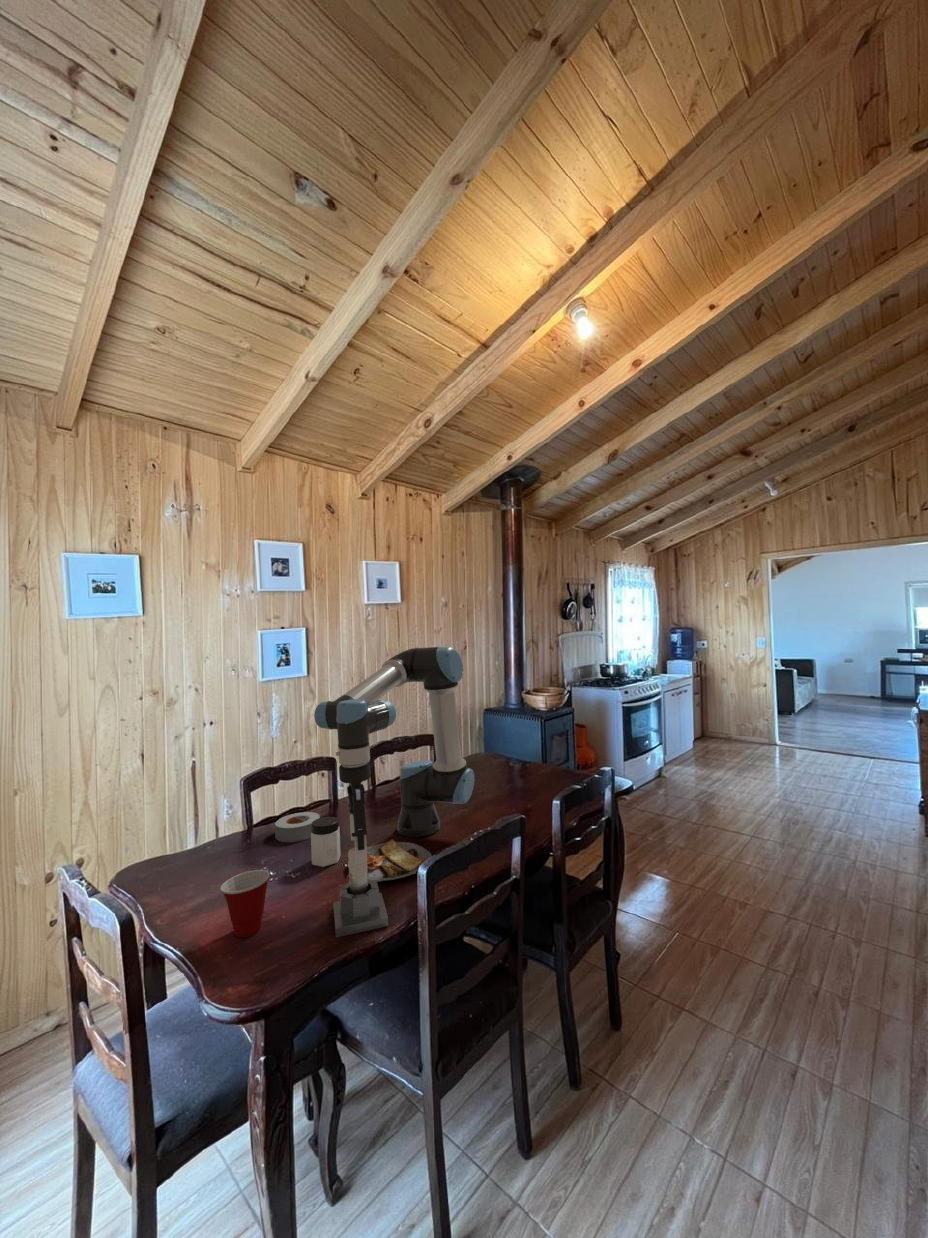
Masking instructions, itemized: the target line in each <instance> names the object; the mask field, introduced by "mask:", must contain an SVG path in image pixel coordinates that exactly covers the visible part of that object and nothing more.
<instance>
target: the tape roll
mask: <svg viewBox="0 0 928 1238" xmlns="http://www.w3.org/2000/svg"><path fill="white" fill-rule="evenodd" d="M319 818H321V817H320V814H319V813H317V812H312V811H304V812H296V813H291V814H287V815H285V816H282V817H280V818H279V819H278V820H276V822H275V823H274V833H275V834H274V835H275V836H274V837H275V839H276V840H277V841H278V842H282V843H296V842H300V841H301V842H302V841H305V840H306V841H307V840H308V839H311V833H312V822H313V821H314V820H316V819H319Z"/></svg>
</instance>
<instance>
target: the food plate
mask: <svg viewBox="0 0 928 1238" xmlns="http://www.w3.org/2000/svg"><path fill="white" fill-rule="evenodd" d="M430 856H431V857H432V853H431V852H430V851H429V850H428V849H426V848H425V847H423V846H421V845H419V844H417V843H413V842H409V841H407V842H406V841H395V839H394V838H391V839H389V841H386V842H382V843H377V844H373V845H369V846H367V871H368V879H369V880H373V881H377V883H378V882H379V883H380V882H383V881H394V880H397V879H403V878H405V877H408V876H411V875H415V874H417V873H416V871H417V867H418V866H419V865H420V864H421V863H422V862H423V861H424V860H426V859H427V858H429V857H430ZM347 868H349V860H348V861H347ZM402 872H403V873H404V872H405V873H404V874H401V873H402Z"/></svg>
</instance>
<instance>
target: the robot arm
mask: <svg viewBox="0 0 928 1238" xmlns="http://www.w3.org/2000/svg"><path fill="white" fill-rule="evenodd" d="M463 672H464V665H463V660H462V658H461V655H460V654H459V652H458V651H457V650H456V648H453V647H450V646H448V647H447V646H429V647H412V648H409V649H406V650H404V651H402V652H400V653H398V654H396V655H394V656H392V657H390V658H389V659H388V660H386V661H385V662H384V663H383V664H382V665H381V668H380V669H378V670H376V671H375V672H374V673H373V674H371V675H370V676H368V677H367V678H366V679H364V680H363V681H361V682H360V683H358V684H357V685H356V686H354V687H352V688H351V689H350V690H348V691H347V692H346V693H344V694H342V695H341V696H340V697H338V698H336V699H335V700H333V701H331V700H327V701H322V702H319V703H318V704H317V706H316V707H315V710H314V715H313V716H314V721H315V725H316V726H318V728H321V729H325V730H326V729H327V730H330V731H331V730H337V743H338V744H337V747H338V748H337V749H338V751H336V752H335V756H337V757H338V764H339V767H338V770H339V772H338V773H339V775H338V776H339V781H340V782H341V783H343V784H348V786H347V787H346V791H347V792H346V793H347V798H348V803H349V804H348V808H349V810H348V811H349V828H350V829H349V830H350V831H349V832H350V841H354V848H355V863H356V864H359V863H364V862H367V847H368V844H367V834H368V831H367V823H366V822H367V821H366V811H365V810H366V809H365V805H366V799H365V795H366V790H365V787H364V784H362V782H365V781H368V780H369V779H370V778H371V776H372V775H371V774H372V773H371V763H370V759H371V752H370V751H371V748H370V738H369V736H370V735H371V734H373V733H377V732H379V731H382V730H386V728H388V727H390V726H392V725H393V724H394V723H395V722H396V717H397V709H396V707H395V705H394V704H393V703H392V702H391V701H389V700H387V699H383V700H380V699H382V698H383V697H385V696H386V694H388V693H389V692H391V691H392V690H393V689H394V688H396V687H398V688H399V687H401V686H403V685H405V684H407V683H417V682H418V683H423V689H424V690H425V691H426V692H427V693H428V694H429V705H430V713H431V721H432V722H431V723H432V730H433V740H434V750H435V756H436V757H435V759H436V760H435V761H434V763H433V760H429V759H427V760H426V759H424V760H416V761H413V762H409V763H406V764H405V765H403V766H402V767H401V768H400V773H399V775H400V776H399V783H400V802H401V810H400V812H399V817H398V820H397V824H396V825H397V827H396V828H397V832H398V834H399V835H401V836H404V837H408V838H410V837H411V838H418V837H426V836H430V835H432V834H435V833H437V832H438V831H439V830H440V828H441V820H440V817H439V814H438V812H437V809H436V806H435V802H437V803H445V804H453V805H455V804H458V805H462V804H463V805H464V804H466V803H467V802H468V801H469V800H470V798H471V796H472V793H473V790H474V787H475V772H474V770H473V769H472V768H469V767H467V766H468V765H467V761H466V759H464V758H463V757H462V751H461V743H460V734H459V733H460V732H459V722H458V715H457V714H458V713H457V705H456V704H457V703H456V698H455V697H456V694H455V690H456V688H457V687H458V686H459V682H460V681H461V680H462V678H463Z"/></svg>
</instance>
